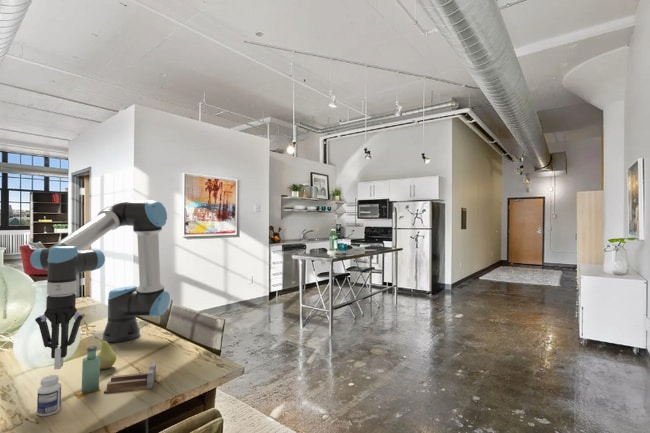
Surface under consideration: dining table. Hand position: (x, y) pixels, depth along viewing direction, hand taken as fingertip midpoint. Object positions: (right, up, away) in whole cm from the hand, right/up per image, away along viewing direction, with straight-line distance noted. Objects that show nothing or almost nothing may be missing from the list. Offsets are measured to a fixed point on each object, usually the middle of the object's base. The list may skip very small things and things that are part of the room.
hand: (58, 367), depth 111 cm
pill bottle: (+5, -8, -11) cm, 15 cm away
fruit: (+3, -9, +18) cm, 20 cm away
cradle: (+20, -9, +7) cm, 22 cm away
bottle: (+8, -8, +3) cm, 12 cm away
